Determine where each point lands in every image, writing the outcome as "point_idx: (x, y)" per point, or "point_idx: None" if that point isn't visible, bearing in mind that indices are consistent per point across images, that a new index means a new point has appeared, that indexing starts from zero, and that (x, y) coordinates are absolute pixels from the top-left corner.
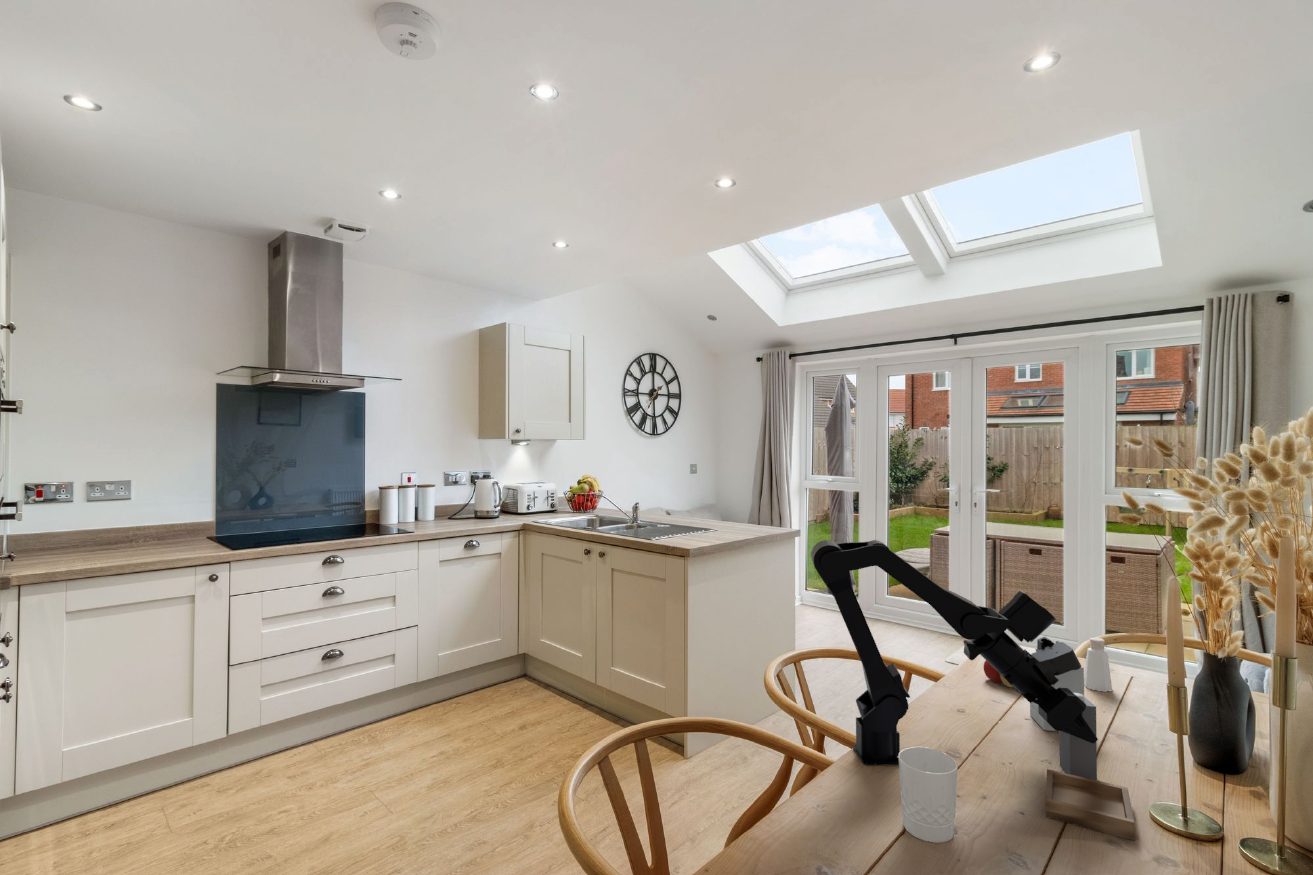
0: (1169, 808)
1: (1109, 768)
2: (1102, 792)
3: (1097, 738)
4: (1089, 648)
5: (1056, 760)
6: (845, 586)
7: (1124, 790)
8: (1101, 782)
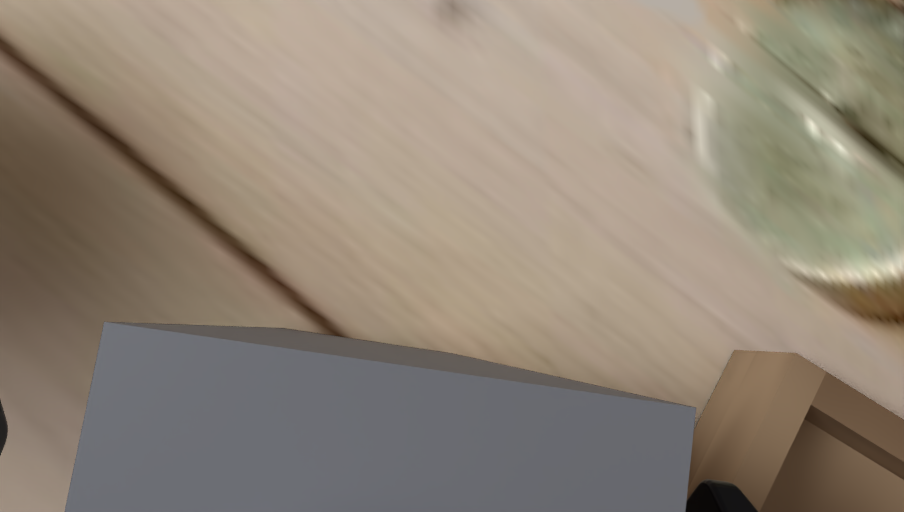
0: (762, 139)
1: (300, 164)
2: None
3: (738, 490)
4: None
5: None
6: None
7: (834, 403)
8: None
